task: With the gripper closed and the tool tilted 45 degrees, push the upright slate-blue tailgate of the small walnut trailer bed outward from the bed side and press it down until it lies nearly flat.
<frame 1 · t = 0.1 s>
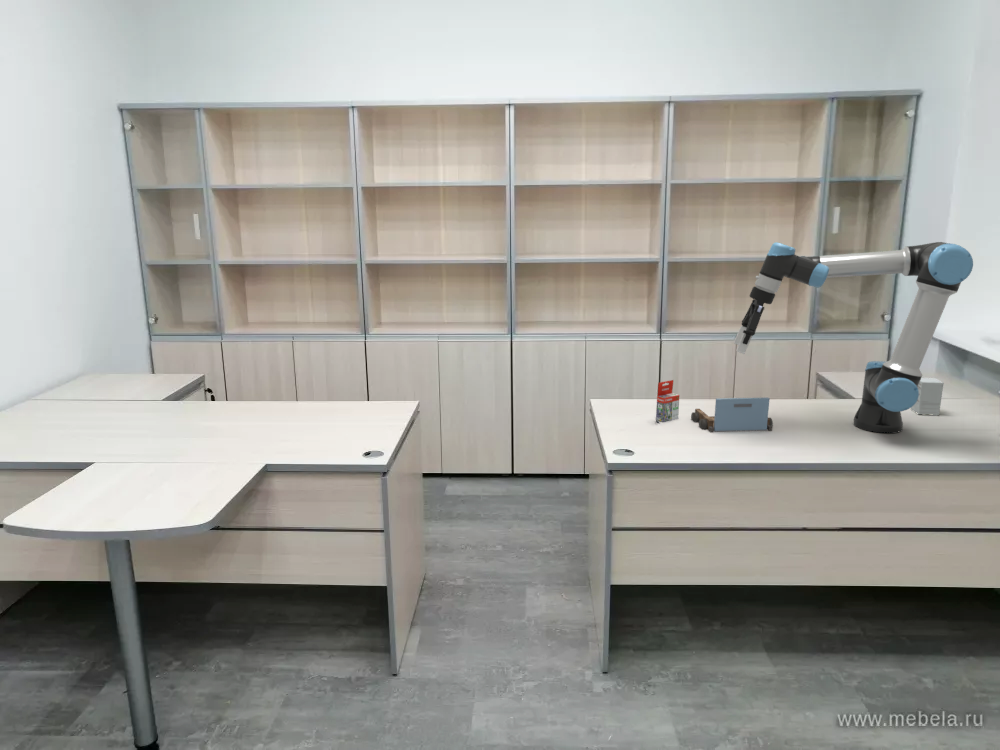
hand: (738, 348, 241), 28 cm above the table, tool tilted 20°, fingers open, 13 cm apart
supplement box: (924, 413, 264), on the table
ink box: (666, 422, 253), on the table
trailer bed: (738, 432, 241), on the table
tailgate: (741, 415, 239), point 6 cm above the table, hinge at 0.0°
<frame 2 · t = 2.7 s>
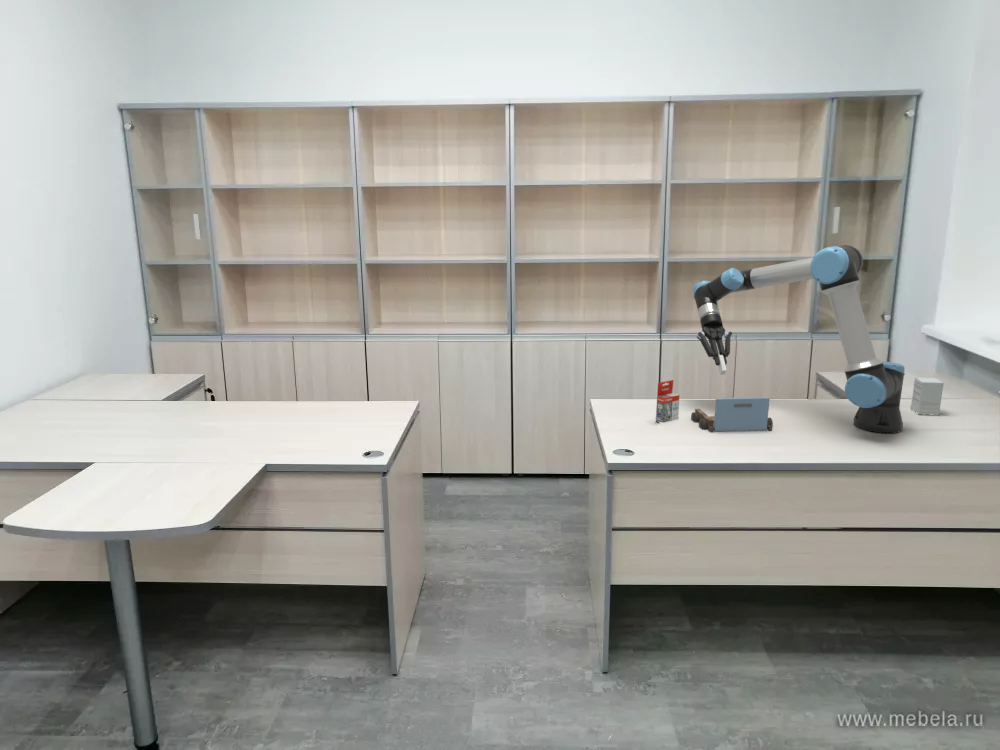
hand: (723, 372, 254), 17 cm above the table, tool tilted 45°, fingers closed
nothing on the table moved.
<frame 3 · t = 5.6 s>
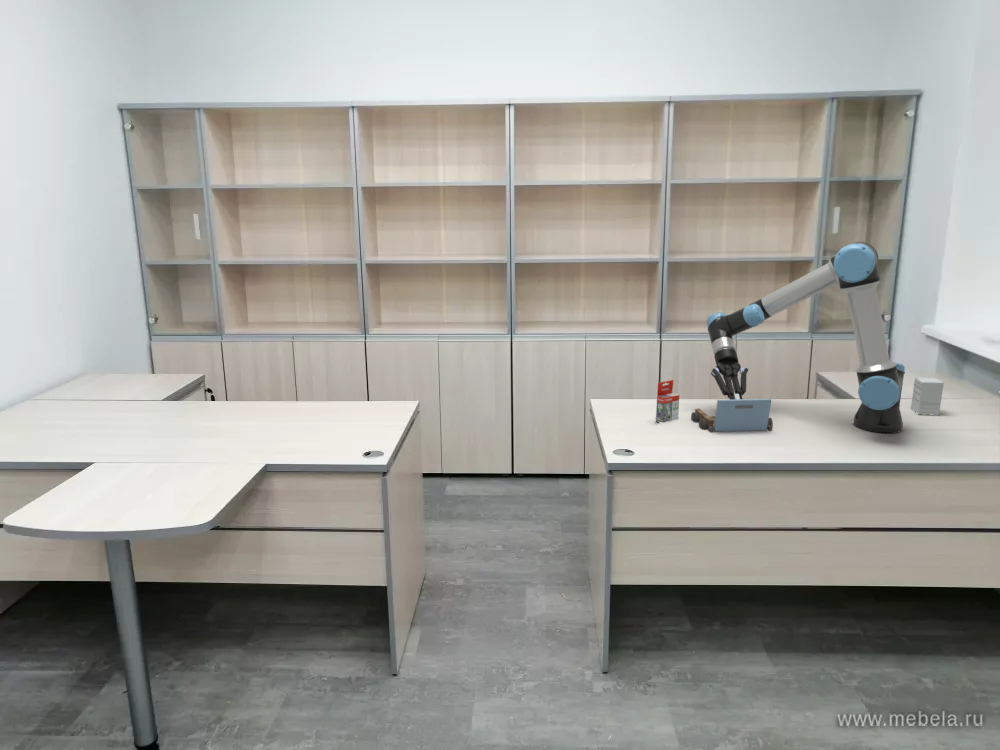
hand: (739, 412, 240), 7 cm above the table, tool tilted 45°, fingers closed
tailgate: (742, 416, 238), point 6 cm above the table, hinge at 7.3°, touching gripper
everything else where it was.
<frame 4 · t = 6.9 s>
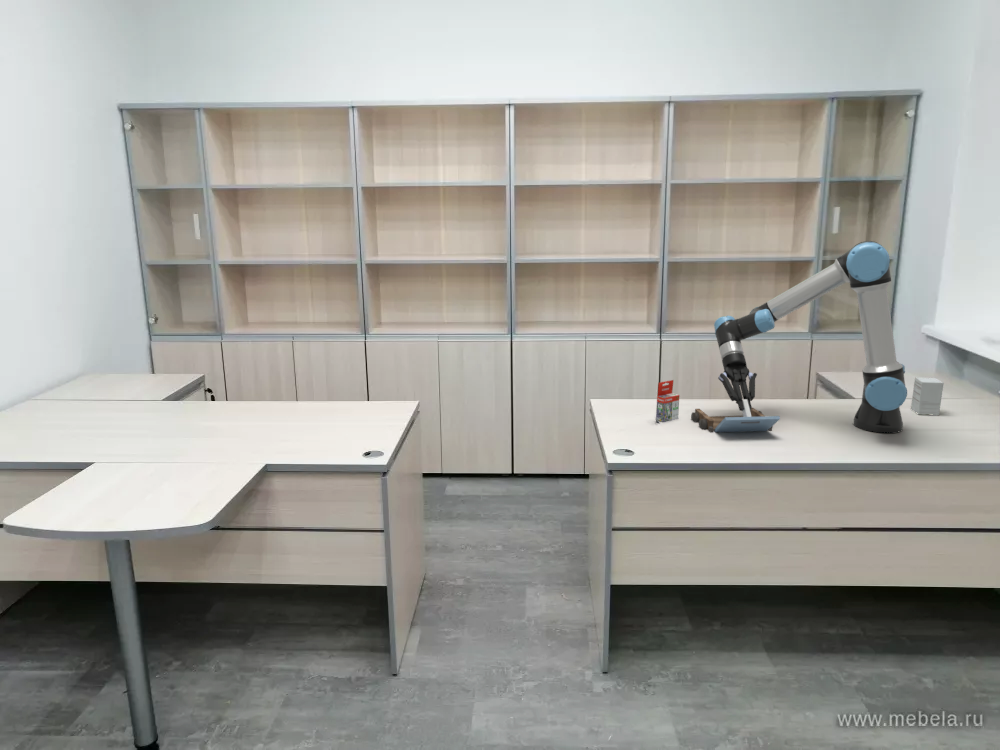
hand: (747, 418, 233), 7 cm above the table, tool tilted 45°, fingers closed
tailgate: (745, 425, 235), point 4 cm above the table, hinge at 50.8°
everything else where it was.
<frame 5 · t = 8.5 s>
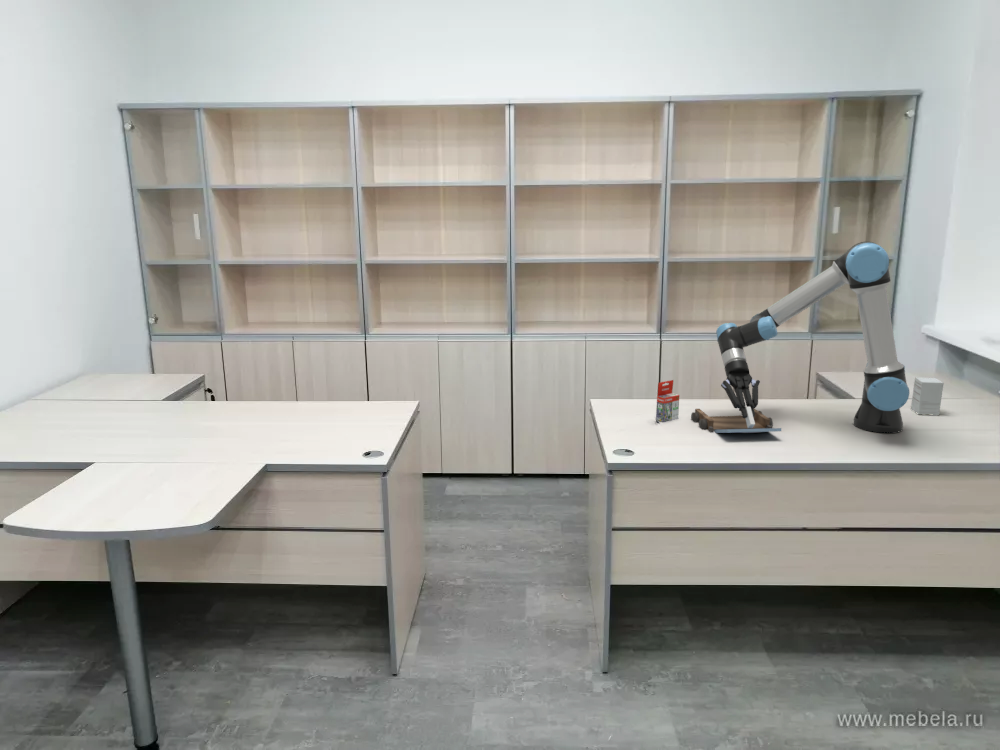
hand: (751, 426, 231), 5 cm above the table, tool tilted 45°, fingers closed
tailgate: (746, 430, 235), point 3 cm above the table, hinge at 71.3°, touching gripper
everything else where it was.
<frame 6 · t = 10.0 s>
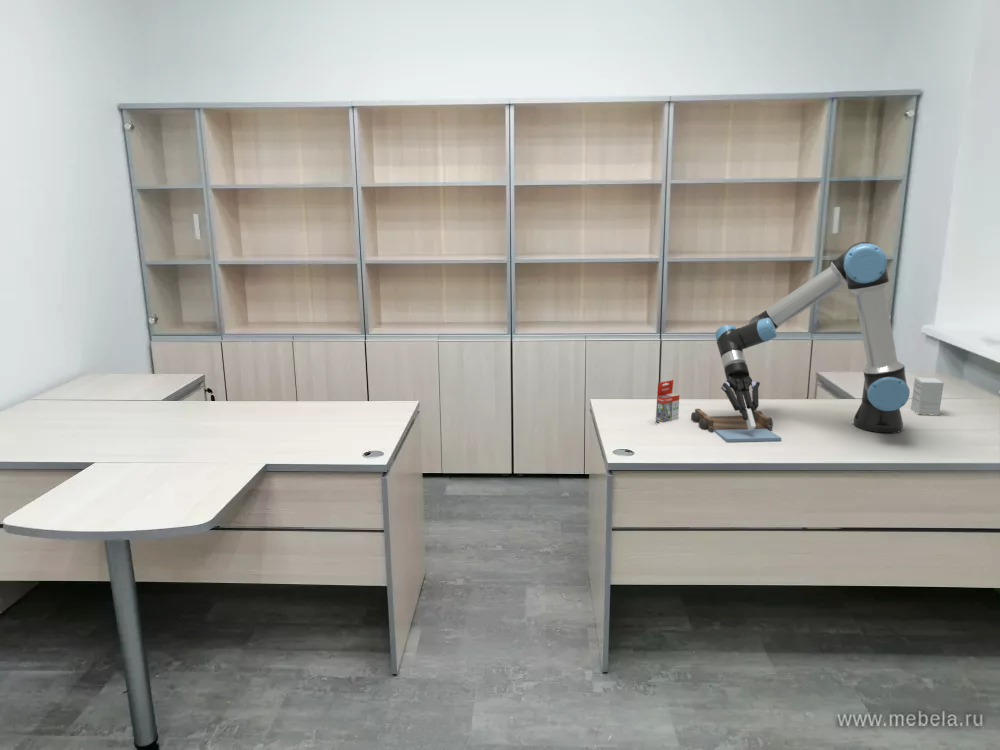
hand: (752, 428, 231), 5 cm above the table, tool tilted 45°, fingers closed
tailgate: (746, 435, 235), point 1 cm above the table, hinge at 86.9°
everything else where it was.
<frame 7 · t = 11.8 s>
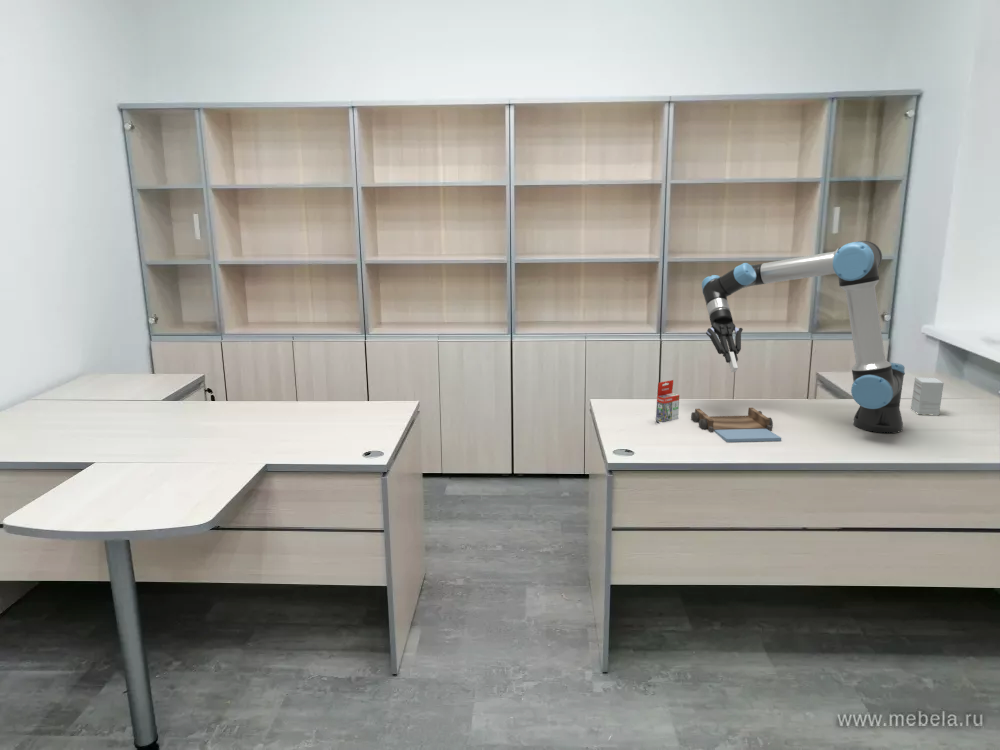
hand: (734, 369, 244), 20 cm above the table, tool tilted 45°, fingers closed
nothing on the table moved.
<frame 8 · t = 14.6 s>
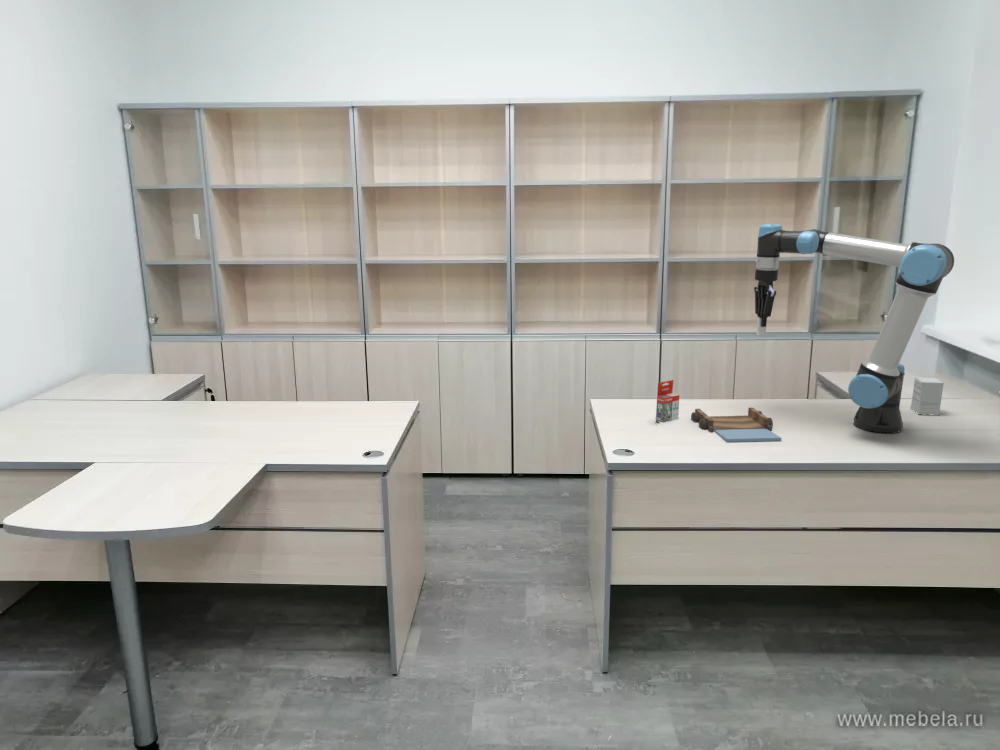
hand: (761, 335, 256), 29 cm above the table, tool pointing down, fingers closed
nothing on the table moved.
at the end: tailgate at +87° (first picture: +0°); tailgate tilted 87° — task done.
